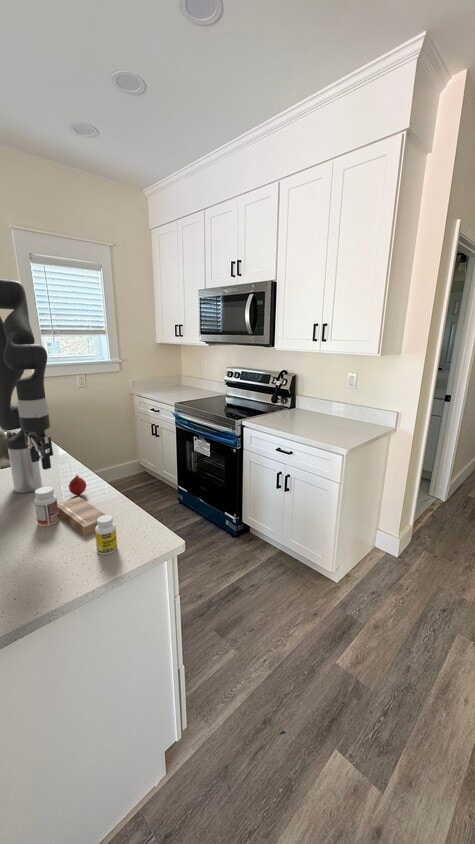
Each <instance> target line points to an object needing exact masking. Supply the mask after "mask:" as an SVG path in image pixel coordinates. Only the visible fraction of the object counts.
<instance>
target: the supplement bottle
mask: <svg viewBox="0 0 475 844" xmlns="http://www.w3.org/2000/svg"><path fill="white" fill-rule="evenodd" d="M113 521H114V520H113V516H112V515H110V514H105V515H103V516H100V517H99V518H98V519H97V524H98V525H97V526H96V528H95V532H94V533H95V543H96V551H97V553H98V554H100V555H103V556H104V555H110V554H112V553H114V552H115V551H116V550H117V548H118V538H117V525H116V524H115V523H114V522H113Z"/></svg>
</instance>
